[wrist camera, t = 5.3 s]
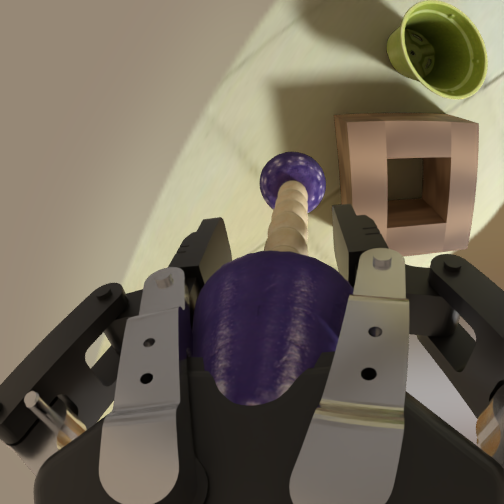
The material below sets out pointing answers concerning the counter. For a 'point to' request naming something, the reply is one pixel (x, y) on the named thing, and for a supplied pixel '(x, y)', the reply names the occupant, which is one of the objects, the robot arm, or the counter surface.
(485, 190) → the counter surface
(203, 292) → the toy lamp
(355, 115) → the socket block
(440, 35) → the plant pot
